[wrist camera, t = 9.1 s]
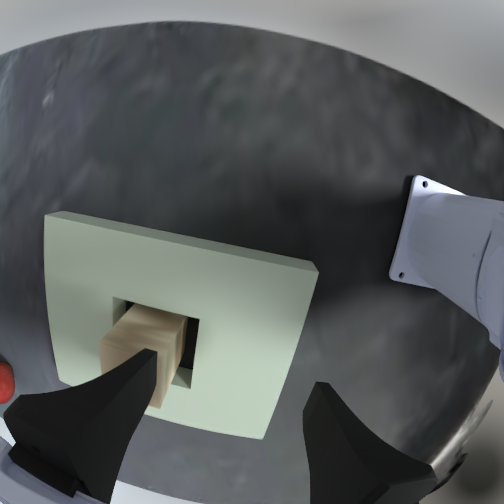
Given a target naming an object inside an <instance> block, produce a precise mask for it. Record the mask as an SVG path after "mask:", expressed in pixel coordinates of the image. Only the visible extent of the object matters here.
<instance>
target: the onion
mask: <svg viewBox="0 0 504 504" xmlns="http://www.w3.org/2000/svg"><path fill="white" fill-rule="evenodd" d="M14 390H15V381H14V376H13V369H12V367H11V366H10V365H9V364H7V363H4V362H1V361H0V404H4V403H7V402H8V401H9V400H11V398H12V396H13V394H14Z"/></svg>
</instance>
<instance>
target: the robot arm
mask: <svg viewBox="0 0 504 504" xmlns="http://www.w3.org/2000/svg"><path fill="white" fill-rule="evenodd" d="M423 181H424V182H425V187H423V185H422V183H423ZM401 272H402V276H401V277H399V274H400V273H401ZM389 277H390V278H391V279H392V280H394V281H399V282H404V283H409V284H414V285H419V286H423V287H428V288H433V289H436V290H438V291H439V292H441V293H442V294H443V295H445V296H446V297H447V298H449V299H450V300H452V301H453V302H454V303H456V304H457V305H458V306H460V307H461V308H462V309H464V310H465V311H466V312H468V313H469V314H470V315H472V316H473V317H474V318H475V319H477V320H478V321H479V322H481V323H482V324H483V325H484V326H486V327H487V329H488V330H489V333H490V341H491V342H492V343H493V344H494V345H495V346H496V347H498V348H499V349H500V350H501V353H500V358H499V370H500V375H501V378H502V380H503V382H504V202H503V201H497V200H491V199H485V198H479V197H472V196H467V195H465V194H462V193H460V192H458V191H456V190H454V189H451V188H449V187H447V186H445V185H442V184H440V183H437V182H435V181H433V180H430V179H428V178H425V177H423V176H419V175H417V176H414V178H413V180H412V184H411V189H410V194H409V199H408V203H407V208H406V212H405V216H404V220H403V224H402V228H401V232H400V236H399V240H398V243H397V247H396V250H395V254H394V257H393V261H392V264H391V267H390V271H389ZM157 355H158V351H154V350H151V349H147V348H144V349H142V350H141V351H139V352H138V353H137V354H135V355H134V356H132V357H131V358H129V359H128V360H126V361H125V362H123V363H122V364H120V365H118V366H117V367H115V368H114V369H112V370H110V371H108V372H106V373H105V374H103V375H101V376H99V377H97V378H95V379H93V380H90V381H88V382H85V383H83V384H80V385H77V386H74V387H70V388H67V389H63V390H59V391H54V392H48V393H41V394H27V395H20V396H19V397H18V398H17V399H16V400H15V401H14V402H13V403H12V404H11V405H10V406H9V407H8V408H7V410H6V411H5V412H4V414H3V416H4V421H5V423H6V425H7V427H8V429H9V431H10V433H11V435H12V437H13V438H14V440H15V442H16V443H15V445H14V446H13V447H12V446H11V445H10V444H9V443H8V442H7V441H6V440H5V439H3V438H2V437H1V436H0V501H1V502H2V503H3V504H110V501H111V496H112V493H113V489H114V486H115V482H116V479H117V476H118V472H119V469H120V466H121V463H122V460H123V457H124V455H125V452H126V449H127V446H128V444H129V441H130V439H131V437H132V435H133V433H134V431H135V429H136V427H137V426H138V424H139V422H140V420H141V418H142V416H143V414H144V412H145V411H146V409H147V407H148V405H149V403H150V401H151V398H152V396H153V393H154V390H155V387H156V384H157ZM303 433H304V439H305V445H306V451H307V457H308V463H309V470H310V504H419V501H420V500H421V499H423V497H425V496H426V495H427V494H428V493H429V492H430V491H431V490H432V489H433V488H434V487H435V486H436V484H437V482H438V479H437V477H436V475H435V473H434V471H433V468H432V466H431V465H428V464H426V463H423V462H421V461H418V460H416V459H413V458H411V457H409V456H407V455H405V454H403V453H402V452H400V451H398V450H396V449H395V448H393V447H392V446H390V445H389V444H387V443H386V442H384V441H383V440H382V439H380V438H379V437H378V436H377V435H376V434H374V433H373V432H372V431H371V430H370V429H369V428H367V427H366V426H365V425H364V424H363V423H362V422H361V421H360V420H359V419H358V418H357V416H356V415H355V414H354V413H353V412H352V411H351V410H350V409H349V407H348V406H347V405H346V404H345V403H344V401H343V400H342V399H341V398H340V397H339V395H338V394H337V393H336V391H335V390H334V389H333V388H332V387H331V385H330V384H329V383H325V382H316V383H315V385H314V387H313V390H312V392H311V394H310V397H309V399H308V401H307V403H306V406H305V408H304V410H303Z"/></svg>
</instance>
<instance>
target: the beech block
mask: <svg viewBox="0 0 504 504" xmlns="http://www.w3.org/2000/svg"><path fill="white" fill-rule="evenodd" d="M187 322H188V316H185V315H181V314H177V313H173V312H169V311H165V310H161V309H157V308H153V307H149V306H145V305H142V304H138V303H135V304H134V305H133V306H132V307H131V308H130V309H129V310H128V311H127V312H126V313H125V314H124V315H123V316H122V318H121V319H120V320H119V321H118V322H117V323H116V324H115V325H114V326H113V327H112V328H111V329H110V330H109V331H108V332H107V333H106V335H105V336H104V337H103V338H102V339H101V340H100V341H99V342H98V345H99V356H100V366H101V374H102V375H103V374H105V373H106V372H108V371H110V370H112V369H114V368H115V367H117V366H118V365H120V364H122V363H123V362H125V361H126V360H128V359H129V358H131V357H132V356H134V355H135V354H137V353H138V352H139V351H141V350H142V349H144V348H147V349H151V350H154V351H158V355H157V384H156V387H155V390H154V393H153V396H152V398H151V401H150V403H149V405H148V406H151V407H154V408H158V409H160V408H161V405H162V403H163V401H164V398H165V396H166V393H167V391H168V389H169V386H170V384H171V382H172V379H173V377H174V375H175V372H176V370H177V368H178V365H179V363H180V361H181V358H182V356H183V354H184V350H185V340H186V331H187Z"/></svg>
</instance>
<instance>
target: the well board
mask: <svg viewBox="0 0 504 504" xmlns="http://www.w3.org/2000/svg"><path fill="white" fill-rule="evenodd" d="M44 269H45V287H46V299H47V309H48V318H49V326H50V333H51V339H52V345H53V351H54V356H55V361H56V366H57V371H58V375H59V379H60V380H61V381H63V382H65V383H67V384H69V385H71V386H73V387H74V386H77V385H80V384H83V383H85V382H88V381H90V380H93V379H95V378H97V377H99V376H101V375H102V374H101V366H100V356H99V345H98V342H99V341H100V340H101V339H102V338H103V337H104V336H105V335H106V333H107V332H108V331H109V330H110V329H111V328H112V327H113V326H114V325H115V324H116V323H117V322H118V321H119V320H120V319H121V318H122V316H123V315H124V314H125V313H126V300H127V301H131V302H134V303H138V304H142V305H145V306H149V307H153V308H157V309H161V310H165V311H169V312H173V313H177V314H181V315H185V316H189V317H193V318H198V319H200V322H199V329H198V336H197V343H196V350H195V358H194V366H193V370H191V369H187V368H183V367H179V366H178V368H177V370H176V372H175V375H174V377H173V379H172V382H171V384H170V386H169V389H168V391H167V393H166V396H165V398H164V401H163V403H162V405H161V408H160V409H158V408H154V407H151V406H148V407H147V409H146V411H145V412H144V414H147V415H150V416H153V417H157V418H160V419H164V420H167V421H171V422H175V423H179V424H183V425H187V426H191V427H195V428H200V429H204V430H209V431H214V432H219V433H224V434H230V435H236V436H242V437H249V438H257V439H263V437H264V434H265V432H266V429H267V427H268V424H269V422H270V419H271V417H272V414H273V411H274V409H275V406H276V403H277V401H278V398H279V395H280V393H281V390H282V387H283V384H284V382H285V379H286V376H287V373H288V370H289V367H290V364H291V362H292V359H293V356H294V353H295V350H296V347H297V344H298V340H299V337H300V334H301V331H302V328H303V325H304V322H305V318H306V315H307V312H308V309H309V305H310V302H311V298H312V295H313V292H314V288H315V285H316V281H317V278H318V274H319V272H318V270H317V269H316V267H315V265H314V264H313V262H312V261H307V260H302V259H297V258H293V257H288V256H283V255H278V254H273V253H268V252H264V251H259V250H254V249H249V248H244V247H239V246H234V245H230V244H225V243H220V242H215V241H210V240H205V239H200V238H195V237H191V236H186V235H181V234H176V233H171V232H166V231H161V230H156V229H151V228H146V227H141V226H136V225H132V224H127V223H122V222H117V221H112V220H107V219H102V218H97V217H92V216H87V215H82V214H77V213H72V212H67V211H60V212H56V213H51V214H47V215H45V221H44Z"/></svg>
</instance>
